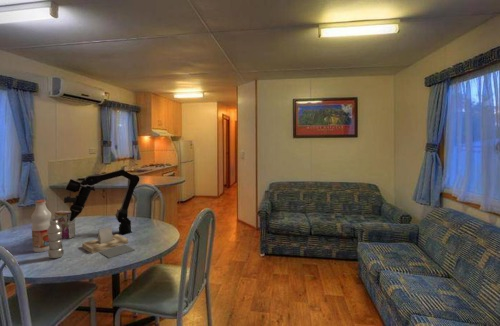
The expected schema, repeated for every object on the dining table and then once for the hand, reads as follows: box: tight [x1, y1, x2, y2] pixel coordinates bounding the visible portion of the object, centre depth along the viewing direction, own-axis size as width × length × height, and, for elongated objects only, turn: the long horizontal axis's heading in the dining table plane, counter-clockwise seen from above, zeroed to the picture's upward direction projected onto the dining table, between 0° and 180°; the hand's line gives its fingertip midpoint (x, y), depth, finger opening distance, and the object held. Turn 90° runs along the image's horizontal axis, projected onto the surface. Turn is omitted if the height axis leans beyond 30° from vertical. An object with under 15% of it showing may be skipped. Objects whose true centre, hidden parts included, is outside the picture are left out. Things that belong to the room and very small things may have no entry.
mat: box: [99, 244, 136, 259], centre depth 153 cm, size 14×12×1 cm
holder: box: [81, 233, 129, 254], centre depth 163 cm, size 20×14×2 cm
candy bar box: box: [54, 210, 77, 240], centre depth 177 cm, size 11×5×16 cm, turn 72°
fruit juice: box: [30, 199, 52, 253], centre depth 157 cm, size 9×9×28 cm
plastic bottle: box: [47, 218, 65, 259], centre depth 145 cm, size 6×7×20 cm
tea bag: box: [97, 226, 114, 244], centre depth 163 cm, size 4×7×10 cm, turn 141°
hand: (71, 219), depth 168 cm, fingers open, 9 cm apart
